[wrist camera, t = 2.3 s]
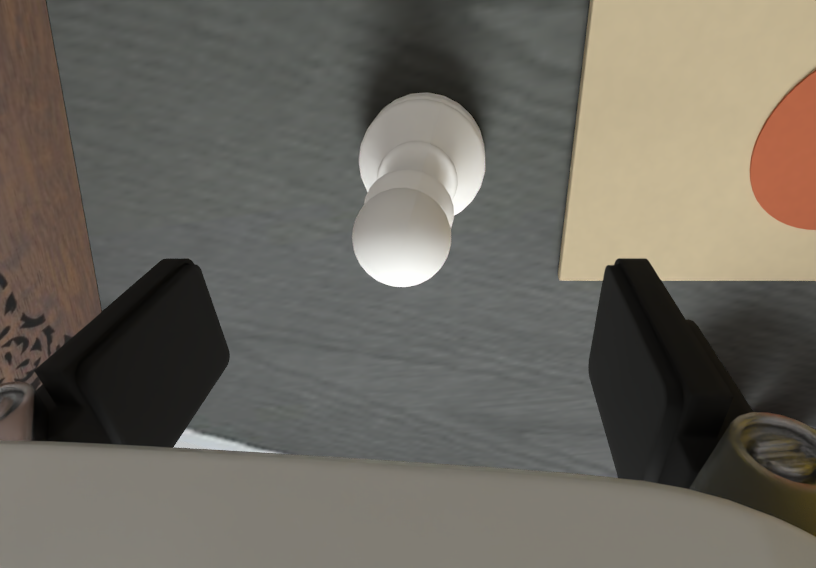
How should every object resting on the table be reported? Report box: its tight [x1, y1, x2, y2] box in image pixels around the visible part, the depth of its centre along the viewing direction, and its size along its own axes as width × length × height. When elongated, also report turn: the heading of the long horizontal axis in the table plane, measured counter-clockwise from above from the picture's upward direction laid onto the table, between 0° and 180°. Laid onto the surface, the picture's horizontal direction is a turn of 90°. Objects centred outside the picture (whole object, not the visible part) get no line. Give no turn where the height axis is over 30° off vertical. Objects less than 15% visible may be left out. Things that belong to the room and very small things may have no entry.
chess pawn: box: [352, 92, 485, 287], centre depth 16 cm, size 5×5×9 cm
